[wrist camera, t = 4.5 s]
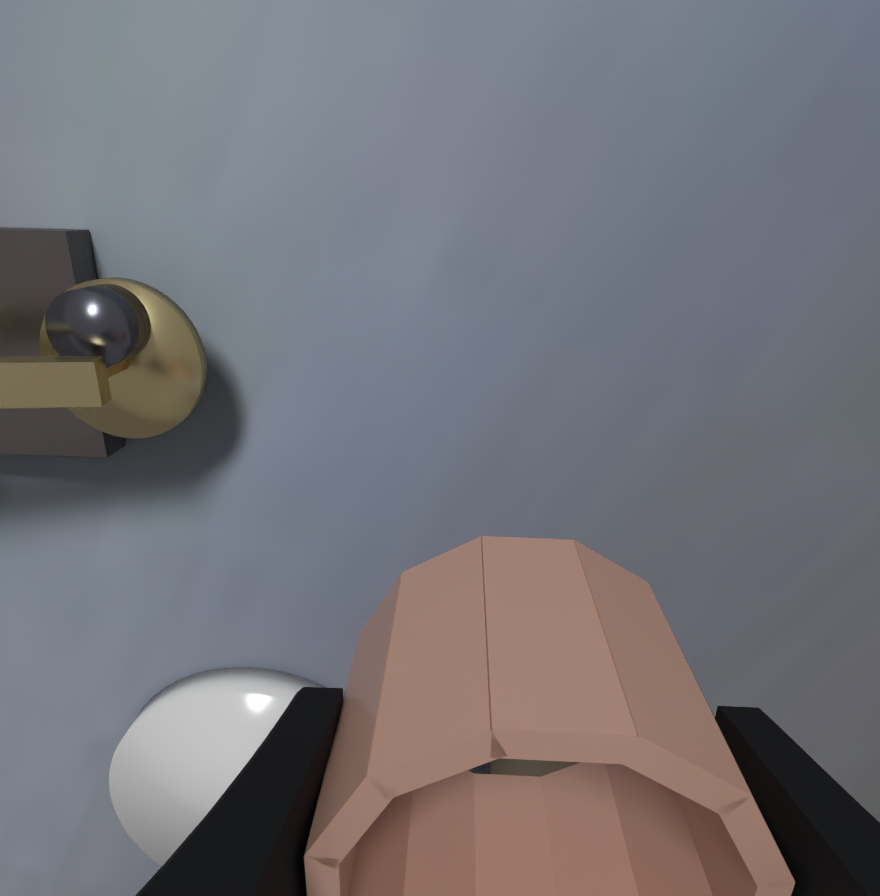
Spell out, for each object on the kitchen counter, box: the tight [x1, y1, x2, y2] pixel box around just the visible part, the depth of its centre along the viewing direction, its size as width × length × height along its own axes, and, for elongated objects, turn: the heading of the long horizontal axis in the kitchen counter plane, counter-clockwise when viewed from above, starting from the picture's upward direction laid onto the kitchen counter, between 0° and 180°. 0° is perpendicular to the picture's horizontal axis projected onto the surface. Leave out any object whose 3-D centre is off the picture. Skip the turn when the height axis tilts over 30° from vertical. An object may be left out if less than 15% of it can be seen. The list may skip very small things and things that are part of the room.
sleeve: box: [304, 536, 795, 896], centre depth 9 cm, size 6×6×4 cm
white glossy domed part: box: [109, 668, 325, 866], centre depth 22 cm, size 10×10×1 cm
